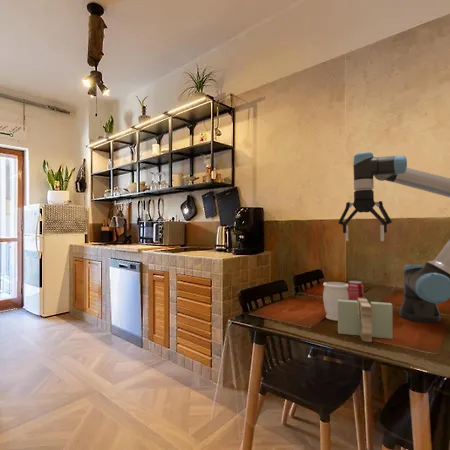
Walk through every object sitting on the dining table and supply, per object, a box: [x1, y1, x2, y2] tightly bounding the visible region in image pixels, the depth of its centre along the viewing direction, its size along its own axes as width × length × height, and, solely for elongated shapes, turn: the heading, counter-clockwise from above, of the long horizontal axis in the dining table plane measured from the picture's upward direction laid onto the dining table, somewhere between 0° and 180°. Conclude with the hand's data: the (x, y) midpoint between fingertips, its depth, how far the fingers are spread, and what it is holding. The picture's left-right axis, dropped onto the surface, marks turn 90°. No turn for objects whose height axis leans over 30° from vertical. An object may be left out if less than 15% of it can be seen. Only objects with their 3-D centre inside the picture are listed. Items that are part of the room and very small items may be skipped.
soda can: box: [347, 280, 365, 301], centre depth 146 cm, size 7×7×13 cm
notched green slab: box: [337, 299, 393, 340], centre depth 111 cm, size 18×3×12 cm, turn 72°
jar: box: [322, 281, 349, 322], centre depth 131 cm, size 11×10×15 cm
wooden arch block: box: [357, 297, 373, 343], centre depth 111 cm, size 14×3×12 cm, turn 163°
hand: (364, 240), depth 126 cm, fingers open, 13 cm apart
